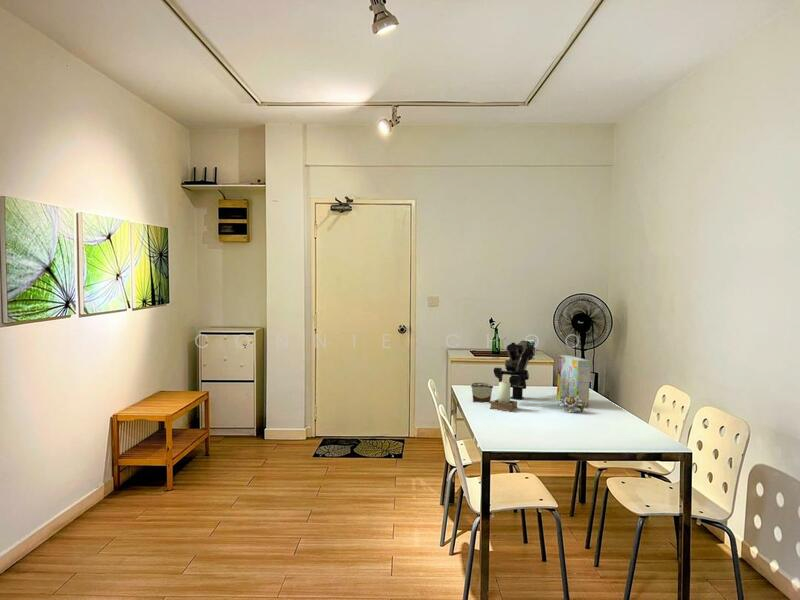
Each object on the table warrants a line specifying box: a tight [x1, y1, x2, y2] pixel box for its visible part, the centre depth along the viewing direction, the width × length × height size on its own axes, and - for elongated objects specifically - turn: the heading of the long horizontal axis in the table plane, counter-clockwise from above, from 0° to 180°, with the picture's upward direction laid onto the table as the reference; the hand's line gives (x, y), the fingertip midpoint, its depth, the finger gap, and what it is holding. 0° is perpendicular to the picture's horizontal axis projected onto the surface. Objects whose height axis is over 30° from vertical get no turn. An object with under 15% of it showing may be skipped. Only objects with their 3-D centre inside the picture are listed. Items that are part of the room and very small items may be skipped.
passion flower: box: [558, 392, 585, 414], centre depth 303 cm, size 11×11×12 cm
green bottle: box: [497, 381, 512, 404], centre depth 303 cm, size 6×6×13 cm
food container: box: [470, 382, 494, 403], centre depth 320 cm, size 12×6×10 cm, turn 84°
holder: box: [489, 398, 518, 413], centre depth 304 cm, size 11×11×4 cm
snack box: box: [556, 355, 592, 408], centre depth 323 cm, size 22×9×26 cm, turn 14°
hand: (508, 386), depth 311 cm, fingers open, 9 cm apart
